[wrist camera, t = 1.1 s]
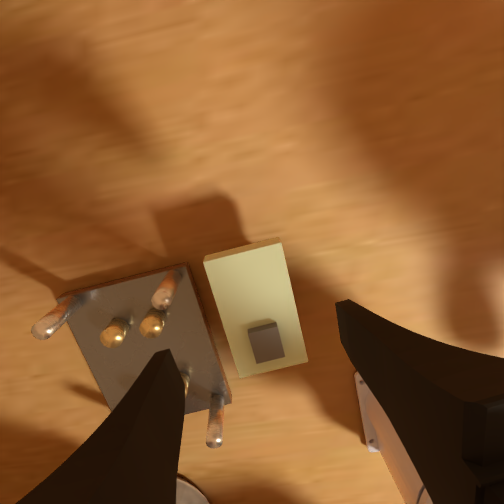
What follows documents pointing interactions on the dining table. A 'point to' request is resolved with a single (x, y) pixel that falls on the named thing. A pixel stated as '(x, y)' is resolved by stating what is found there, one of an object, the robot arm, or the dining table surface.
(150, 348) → the chassis
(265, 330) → the board
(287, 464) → the dining table surface
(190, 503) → the mug
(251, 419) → the dining table surface
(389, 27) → the dining table surface
